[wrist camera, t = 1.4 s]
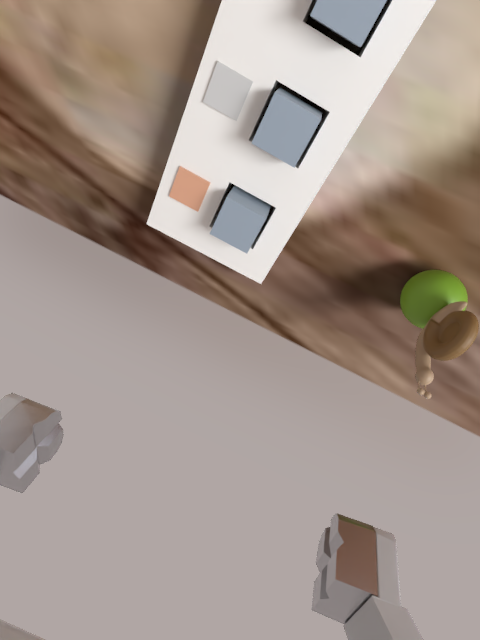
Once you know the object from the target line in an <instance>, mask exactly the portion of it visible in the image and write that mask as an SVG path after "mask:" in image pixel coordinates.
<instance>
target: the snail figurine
mask: <svg viewBox="0 0 480 640" xmlns="http://www.w3.org/2000/svg"><path fill="white" fill-rule="evenodd" d="M400 305H401V309H402V312H403V314H404V315H405V317H406V318H407V319H408V320H409V321H410V322H411V323H412V324H414V325H415V326H417V327H420V328H422V329H423V330H422V331H421V332H420V334H419V336H418V339H417V344H416V350H415V365H416V374H415V379H416V381H417V383H418V387H419V384H420V385H424V386H425V391H426V385H428V384H430V383H431V382H432V380H433V378H434V374H433V372H432V370H431V357H432V358H434V359H436V360H440V361H447V360H451V359H454V358H456V357H458V356H460V355H462V354H463V353H464V352H465V351H466V350H468V348H469V347H470V346H471V345H472V343H473V342H474V340H475V338H476V336H477V333H478V329H479V324H478V320H477V318H476V316H475V315H474V314H473V313H471V312H469V311H465V309H466V306H467V292H466V289H465V287H464V285H463V283H462V282H461V281H460V280H459V279H458V278H457V277H456V276H454V275H453V274H451V273H449V272H446V271H442V270H427V271H423V272H420V273H418V274H416V275H415V276H413V277H412V278H411V279H410V280H409V281H408V282H407V283H406V284H405V286H404V287H403V289H402V292H401V296H400ZM425 391H424V389H422V388H420V387H419V388H418V389H417V393H418V394H419V395H423V394H424V397H425V398H427V399H430V398H431V393H430V392H427V391H426V392H425Z"/></svg>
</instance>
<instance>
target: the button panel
mask: <svg viewBox="0 0 480 640" xmlns="http://www.w3.org/2000/svg"><path fill="white" fill-rule="evenodd" d="M315 1H316V0H222V1H221V4H220V7H219V10H218V13H217V16H216V19H215V22H214V25H213V28H212V31H211V34H210V37H209V40H208V43H207V46H206V49H205V52H204V55H203V58H202V61H201V64H200V67H199V70H198V72H197V75H196V78H195V81H194V84H193V87H192V90H191V93H190V96H189V99H188V102H187V105H186V108H185V111H184V114H183V117H182V120H181V123H180V126H179V129H178V132H177V135H176V138H175V141H174V144H173V147H172V150H171V153H170V156H169V158H168V161H167V164H166V167H165V170H164V173H163V176H162V179H161V182H160V185H159V188H158V191H157V194H156V197H155V200H154V203H153V206H152V209H151V212H150V215H149V218H148V221H147V225H149V226H151V227H153V228H155V229H157V230H159V231H161V232H163V233H164V234H166V235H168V236H170V237H172V238H174V239H176V240H178V241H180V242H182V243H184V244H185V245H187V246H189V247H191V248H193V249H195V250H197V251H199V252H201V253H203V254H205V255H206V256H208V257H210V258H212V259H214V260H216V261H218V262H220V263H222V264H224V265H226V266H227V267H229V268H231V269H233V270H235V271H237V272H239V273H241V274H243V275H245V276H247V277H248V278H250V279H252V280H254V281H256V282H258V283H260V284H261V283H262V282H263V280H264V278H265V277H266V275H267V273H268V272H269V270H270V269H271V267H272V265H273V264H274V262H275V260H276V259H277V257H278V256H279V254H280V252H281V251H282V249H283V248H284V246H285V244H286V243H287V241H288V239H289V238H290V236H291V235H292V233H293V231H294V230H295V228H296V226H297V225H298V223H299V222H300V220H301V218H302V217H303V215H304V214H305V212H306V210H307V209H308V207H309V205H310V204H311V202H312V201H313V199H314V197H315V196H316V194H317V193H318V191H319V189H320V188H321V186H322V184H323V183H324V181H325V180H326V178H327V176H328V175H329V173H330V171H331V170H332V168H333V167H334V165H335V163H336V162H337V160H338V159H339V157H340V155H341V154H342V152H343V150H344V149H345V147H346V146H347V144H348V142H349V141H350V139H351V137H352V136H353V134H354V133H355V131H356V129H357V128H358V126H359V125H360V123H361V121H362V120H363V118H364V116H365V115H366V113H367V112H368V110H369V108H370V107H371V105H372V103H373V102H374V100H375V99H376V97H377V95H378V94H379V92H380V91H381V89H382V87H383V86H384V84H385V82H386V81H387V79H388V78H389V76H390V74H391V73H392V71H393V69H394V68H395V66H396V65H397V63H398V61H399V60H400V58H401V57H402V55H403V53H404V52H405V50H406V48H407V47H408V45H409V44H410V42H411V40H412V39H413V37H414V35H415V34H416V32H417V31H418V29H419V27H420V26H421V24H422V23H423V21H424V19H425V18H426V16H427V14H428V13H429V11H430V10H431V8H432V6H433V5H434V3H435V1H436V0H389V1H388V3H387V5H386V6H385V8H384V10H383V12H382V14H381V15H380V17H379V19H378V21H377V23H376V24H375V26H374V28H373V30H372V32H371V33H370V35H369V37H368V39H367V41H366V42H365V44H364V46H363V48H362V50H361V51H360V53H359V55H358V56H357V55H356V54H354V53H353V52H351V51H349V50H348V49H346V48H345V47H343V46H341V45H340V44H338V43H337V42H335V41H333V40H332V39H330V38H329V37H327V36H325V35H324V34H322V33H321V32H319V31H317V30H316V29H314V28H313V27H311V26H309V25H308V24H306V20H307V18H308V16H309V14H310V12H311V10H312V7H313V5H314V3H315ZM278 82H280V83H282V84H283V85H285V86H287V87H289V88H290V89H292V90H294V91H295V92H297V93H299V94H300V95H302V96H304V97H305V98H307V99H309V100H310V101H312V102H314V103H315V104H317V105H319V106H320V107H322V108H324V109H325V110H327V113H326V114H325V116H324V118H323V120H322V122H321V123H320V125H319V127H318V129H317V131H316V132H315V134H314V136H313V138H312V140H311V141H310V143H309V145H308V147H307V149H306V150H305V152H304V154H303V156H302V158H301V159H299V161H298V162H297V164H296V166H295V168H294V167H292V166H290V165H288V164H287V163H285V162H283V161H281V160H280V159H278V158H276V157H274V156H273V155H271V154H269V153H267V152H266V151H264V150H262V149H260V148H259V147H257V146H255V145H253V144H252V141H253V138H254V136H255V131H256V129H257V127H258V125H259V123H260V120H261V118H262V116H263V114H264V112H265V110H266V107H267V105H268V103H269V101H270V99H271V96H272V94H273V92H274V90H275V88H276V86H277V83H278ZM231 183H232V184H234V185H236V186H237V187H239V188H241V189H243V190H245V191H246V192H248V193H250V194H252V195H254V196H255V197H257V198H259V199H261V200H263V201H264V202H266V203H268V204H270V205H272V206H274V208H273V210H272V212H271V213H270V215H269V217H268V219H267V221H266V222H265V224H264V226H263V228H262V230H261V231H260V233H259V235H258V236H257V237H256V239H255V240H254V242H253V244H252V246H251V248H250V249H249V251H248V253H247V254H246V253H245V252H243V251H241V250H239V249H237V248H235V247H233V246H231V245H230V244H228V243H226V242H224V241H222V240H220V239H218V238H216V237H214V236H213V235H211V234H210V232H211V230H212V227H213V225H214V223H215V221H216V219H217V217H218V215H217V214H218V212H219V209H220V207H221V205H222V203H223V201H224V199H225V196H226V194H227V192H228V190H229V188H230V186H231Z"/></svg>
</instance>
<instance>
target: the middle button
mask: <svg viewBox="0 0 480 640" xmlns="http://www.w3.org/2000/svg"><path fill="white" fill-rule="evenodd" d="M321 118H322V112H321V111H319V110H317V109H315V108H314V107H312V106H310V105H309V104H307V103H305V102H304V101H302V100H300V99H299V98H297V97H295V96H294V95H292V94H290V93H289V92H287V91H285V90H284V89H282V88H279V89H278V90H276V91H275V93H274V95H273V97H272V99H271V102H270V104H269V106H268V108H267V110H266V112H265V115H264V117H263V119H262V121H261V123H260V125H259V128H258V130H257V132H256V134H255V136H254V138H253V141H252V144H253V145H255V146H257V147H259V148H260V149H262V150H264V151H266V152H267V153H269V154H271V155H273V156H274V157H276V158H278V159H280V160H281V161H283V162H285V163H287V164H288V165H290V166H292V167H294V168H295V166H296V164H297V162H298V161H299V159H300V157H301V155H302V153H303V152H304V150H305V148H306V146H307V144H308V143H309V141H310V139H311V137H312V135H313V133H314V132H315V130H316V128H317V126H318V124H319V123H320V121H321Z"/></svg>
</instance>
